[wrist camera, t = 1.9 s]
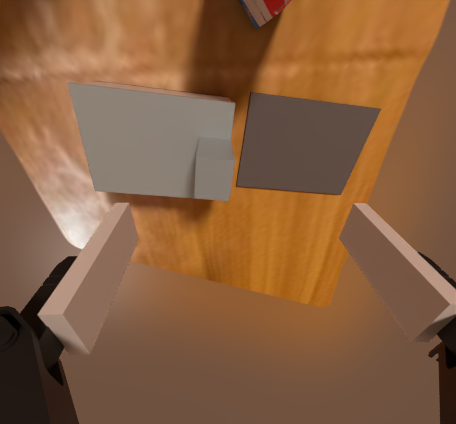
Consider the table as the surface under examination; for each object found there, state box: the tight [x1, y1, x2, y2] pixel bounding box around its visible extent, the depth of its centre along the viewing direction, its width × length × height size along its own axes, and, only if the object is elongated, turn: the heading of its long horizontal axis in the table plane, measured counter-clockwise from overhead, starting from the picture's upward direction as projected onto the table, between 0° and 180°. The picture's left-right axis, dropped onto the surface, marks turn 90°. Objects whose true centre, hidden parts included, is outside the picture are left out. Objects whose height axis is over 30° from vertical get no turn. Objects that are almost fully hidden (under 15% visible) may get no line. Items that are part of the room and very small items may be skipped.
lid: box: [68, 82, 235, 201], centre depth 27 cm, size 19×14×9 cm
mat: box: [237, 92, 381, 195], centre depth 37 cm, size 20×15×1 cm
